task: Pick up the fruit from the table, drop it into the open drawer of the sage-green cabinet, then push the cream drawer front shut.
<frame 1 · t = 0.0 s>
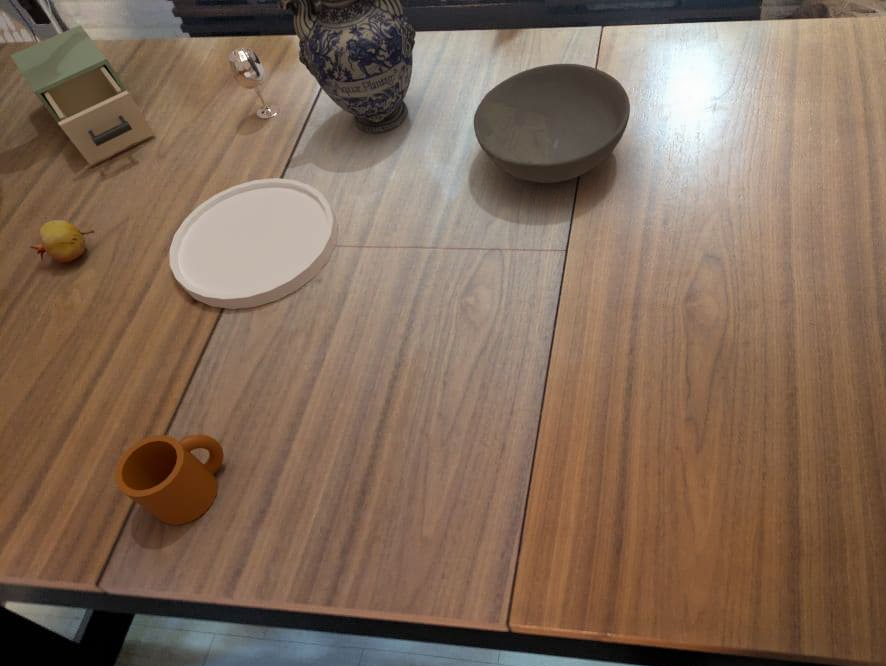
hand: (60, 2, 134), 19 cm above the table, tool pointing down, fingers open, 13 cm apart
wineglass: (268, 112, 141), on the table
mug: (197, 489, 97), on the table
plate: (258, 246, 121), on the table
fruit: (75, 255, 124), on the table
cabinet: (91, 104, 148), on the table
bowl: (554, 158, 126), on the table
drawer: (99, 116, 136), point 5 cm above the table, slide at 11.5 cm
decorative vase: (381, 117, 137), on the table
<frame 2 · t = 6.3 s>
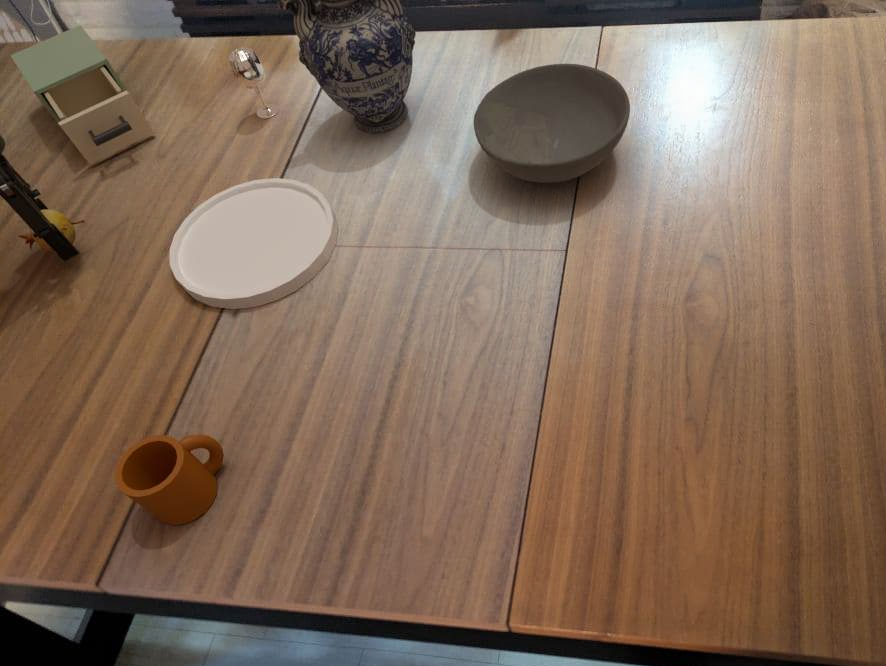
hand: (63, 243, 122), 3 cm above the table, tool pointing down, fingers closed on fruit, 7 cm apart
fruit: (65, 245, 122), point 2 cm above the table, touching gripper
everything else where it was.
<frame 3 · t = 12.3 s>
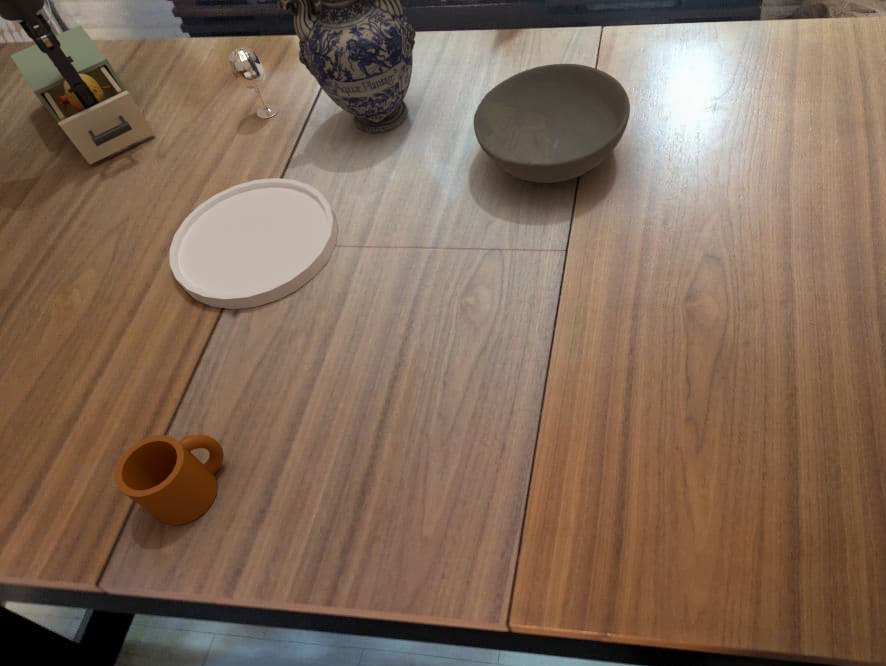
hand: (93, 108, 136), 6 cm above the table, tool pointing down, fingers closed on fruit, 7 cm apart
fruit: (95, 110, 136), point 6 cm above the table, touching gripper
everything else where it was.
when the fingers open (10 cm above the table, at t = 29.6 s): fruit drops 7 cm, resting on drawer.
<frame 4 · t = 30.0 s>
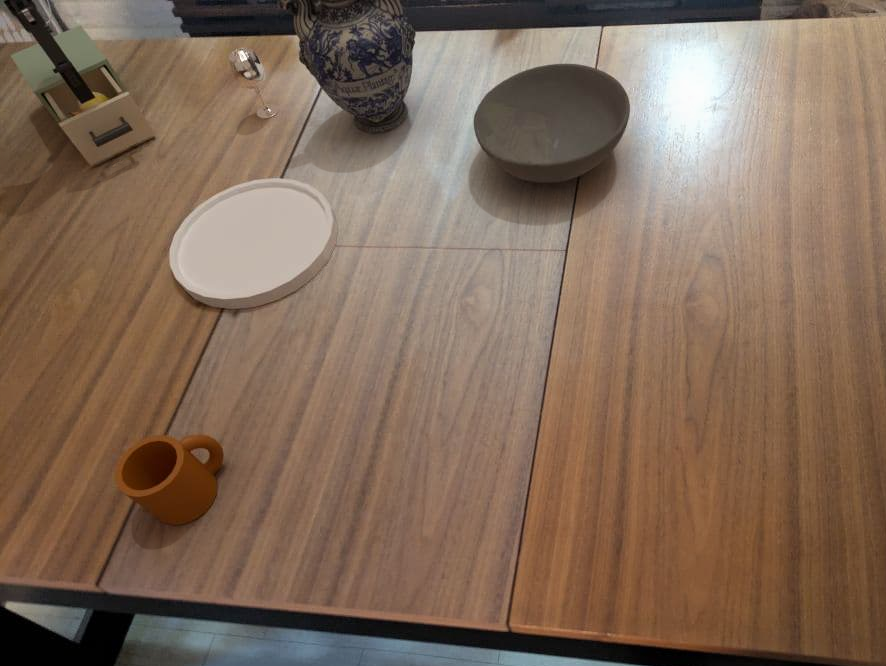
hand: (77, 85, 132), 11 cm above the table, tool pointing down, fingers open, 12 cm apart
fruit: (106, 127, 140), point 2 cm above the table, touching drawer
drawer: (100, 117, 136), point 5 cm above the table, slide at 11.9 cm, touching fruit
everything else where it was.
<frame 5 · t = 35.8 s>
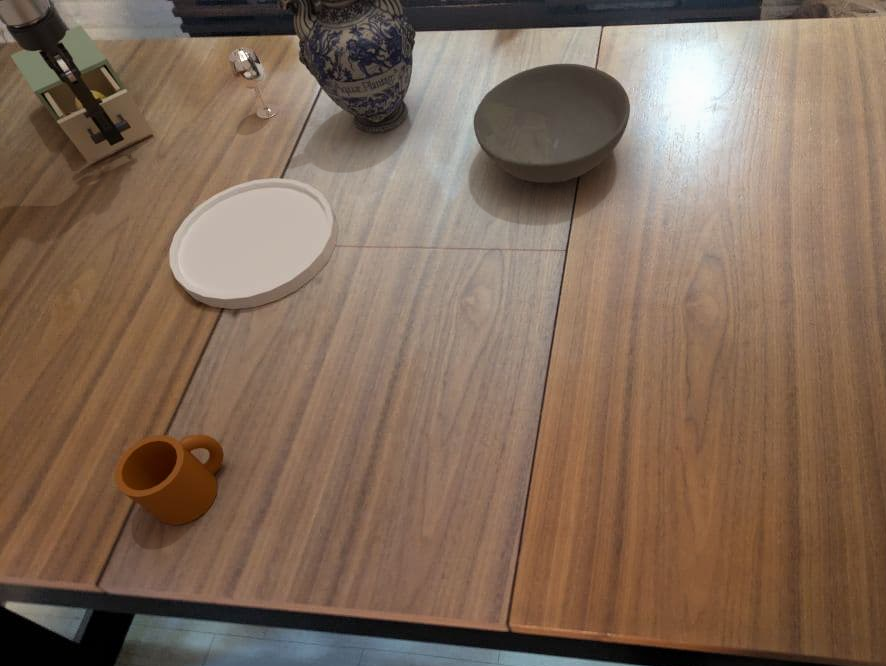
hand: (116, 140, 132), 5 cm above the table, tool pointing down, fingers closed
fruit: (105, 125, 140), point 2 cm above the table, touching drawer
drawer: (98, 114, 136), point 5 cm above the table, slide at 10.8 cm, touching fruit, gripper
everything else where it was.
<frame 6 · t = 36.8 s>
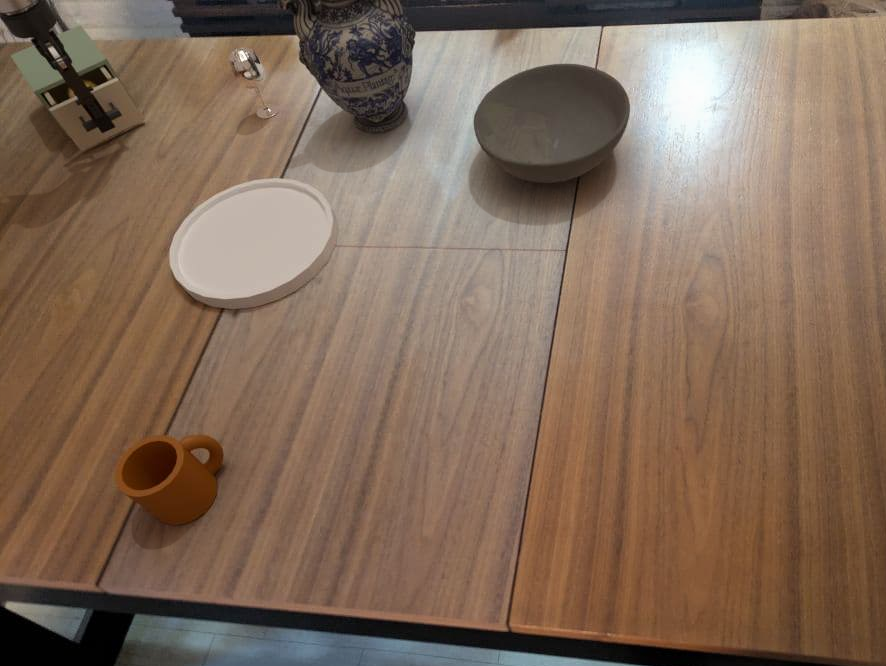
hand: (107, 128, 134), 5 cm above the table, tool pointing down, fingers closed
fruit: (97, 114, 143), point 2 cm above the table, touching drawer
drawer: (90, 103, 139), point 5 cm above the table, slide at 5.8 cm, touching fruit, gripper
everything else where it was.
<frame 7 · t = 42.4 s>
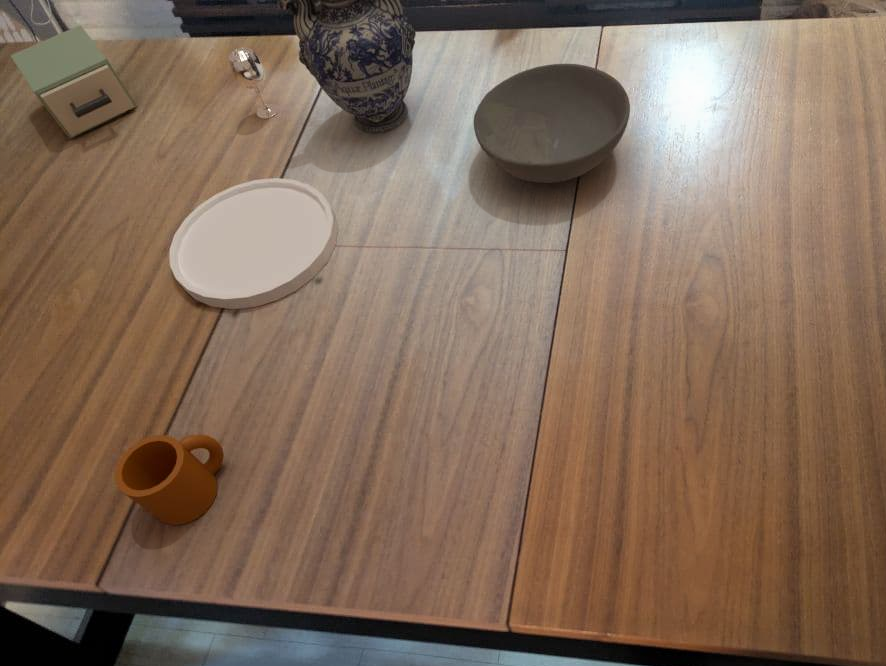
fruit: (88, 101, 145), point 2 cm above the table, touching drawer
drawer: (81, 90, 141), point 5 cm above the table, slide at 0.0 cm, touching fruit
everything else where it was.
at the end: fruit inside the target area in the cabinet (1.9 cm from its centre), point 1.8 cm above the cabinet's base; drawer slide at 0.0 cm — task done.
